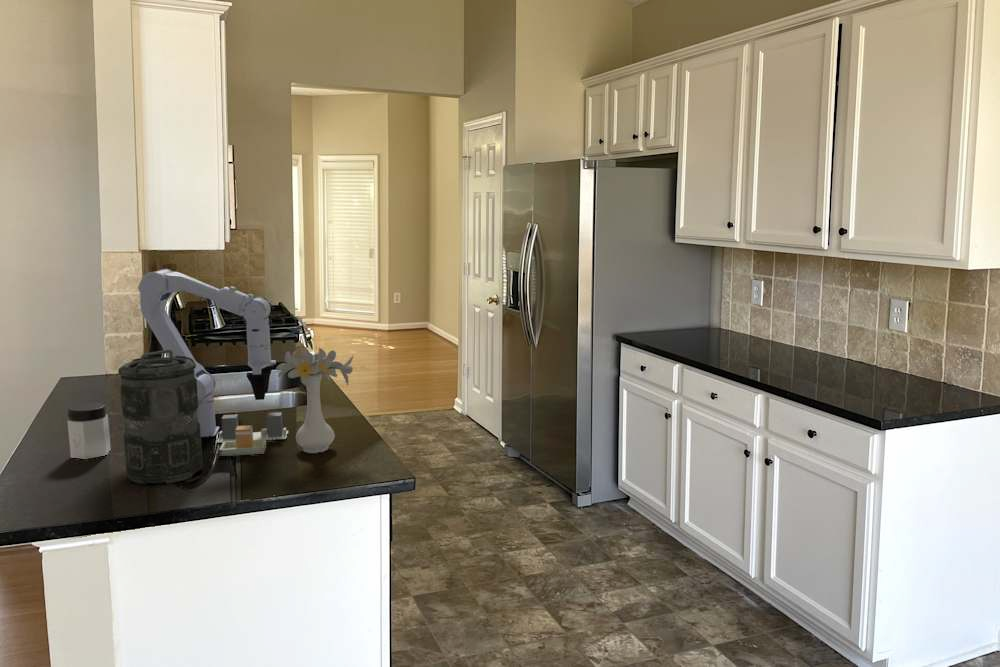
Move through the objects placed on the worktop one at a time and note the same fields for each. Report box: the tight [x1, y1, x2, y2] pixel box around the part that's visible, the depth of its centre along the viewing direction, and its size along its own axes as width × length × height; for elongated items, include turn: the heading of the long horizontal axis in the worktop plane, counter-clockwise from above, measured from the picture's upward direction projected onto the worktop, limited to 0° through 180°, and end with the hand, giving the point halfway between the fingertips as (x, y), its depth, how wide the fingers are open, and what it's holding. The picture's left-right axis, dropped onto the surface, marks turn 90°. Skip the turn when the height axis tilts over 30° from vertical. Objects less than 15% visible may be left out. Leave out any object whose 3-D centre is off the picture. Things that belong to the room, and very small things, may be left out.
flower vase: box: [275, 347, 354, 454], centre depth 199 cm, size 13×18×25 cm
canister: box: [117, 349, 203, 486], centre depth 181 cm, size 16×16×28 cm
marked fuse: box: [235, 424, 253, 448], centre depth 198 cm, size 4×4×6 cm
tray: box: [218, 439, 268, 457], centre depth 199 cm, size 10×7×2 cm
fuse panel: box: [216, 411, 289, 444], centre depth 209 cm, size 17×7×6 cm, turn 100°
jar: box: [66, 402, 112, 459], centre depth 196 cm, size 9×8×12 cm
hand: (261, 395), depth 213 cm, fingers open, 7 cm apart
